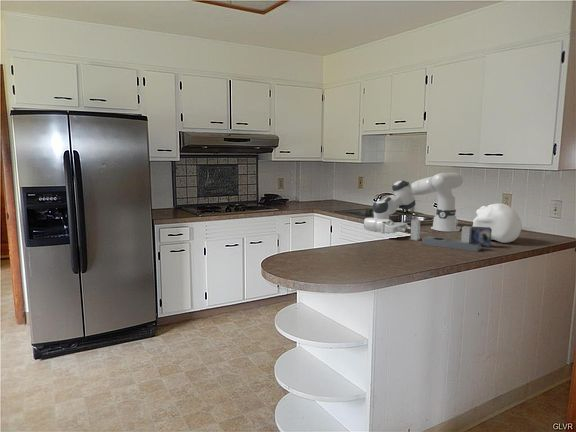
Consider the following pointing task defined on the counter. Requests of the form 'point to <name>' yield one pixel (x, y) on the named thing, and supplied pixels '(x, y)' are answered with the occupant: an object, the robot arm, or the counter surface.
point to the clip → (415, 229)
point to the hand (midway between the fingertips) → (408, 228)
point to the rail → (455, 241)
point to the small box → (481, 235)
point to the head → (499, 222)
